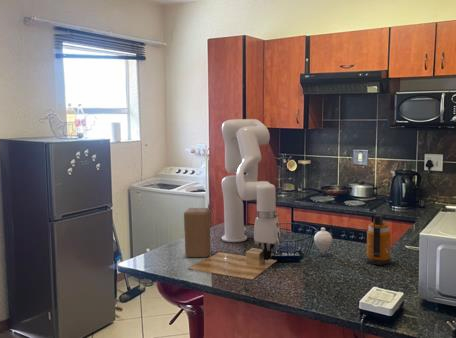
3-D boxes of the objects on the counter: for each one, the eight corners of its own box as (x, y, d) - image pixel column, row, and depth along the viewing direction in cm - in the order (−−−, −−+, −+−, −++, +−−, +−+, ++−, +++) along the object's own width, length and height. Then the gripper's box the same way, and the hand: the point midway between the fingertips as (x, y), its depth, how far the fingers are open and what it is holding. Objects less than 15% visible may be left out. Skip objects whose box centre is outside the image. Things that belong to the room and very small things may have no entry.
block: (211, 251, 202) (210, 207, 200) (207, 258, 192) (206, 212, 190) (189, 250, 203) (188, 207, 201) (184, 257, 193) (183, 212, 191)
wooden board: (219, 252, 200) (219, 252, 200) (277, 260, 186) (277, 260, 186) (188, 269, 179) (188, 268, 178) (251, 279, 165) (251, 279, 165)
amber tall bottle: (390, 260, 184) (391, 212, 182) (387, 268, 174) (388, 218, 172) (368, 257, 188) (369, 211, 185) (364, 266, 178) (364, 216, 175)
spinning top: (312, 257, 190) (312, 229, 189) (316, 251, 197) (316, 225, 196) (330, 258, 188) (330, 230, 186) (333, 253, 195) (333, 226, 193)
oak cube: (252, 259, 188) (251, 247, 188) (265, 261, 185) (265, 249, 185) (245, 263, 183) (245, 251, 182) (259, 265, 180) (259, 253, 180)
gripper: (287, 214, 179) (287, 258, 181) (253, 211, 186) (254, 254, 188) (280, 218, 173) (280, 264, 175) (245, 215, 180) (246, 259, 182)
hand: (267, 259), depth 182 cm, fingers closed
